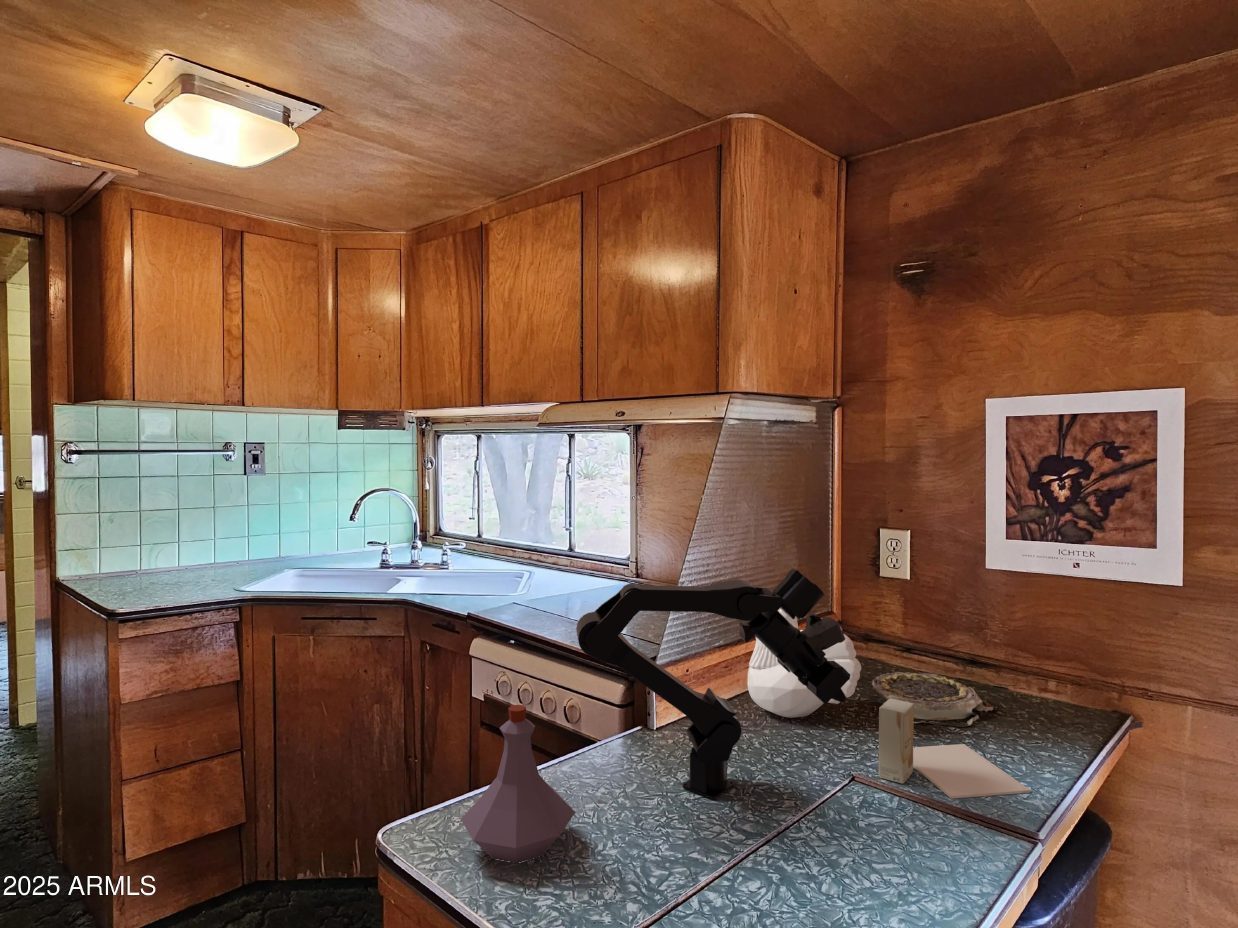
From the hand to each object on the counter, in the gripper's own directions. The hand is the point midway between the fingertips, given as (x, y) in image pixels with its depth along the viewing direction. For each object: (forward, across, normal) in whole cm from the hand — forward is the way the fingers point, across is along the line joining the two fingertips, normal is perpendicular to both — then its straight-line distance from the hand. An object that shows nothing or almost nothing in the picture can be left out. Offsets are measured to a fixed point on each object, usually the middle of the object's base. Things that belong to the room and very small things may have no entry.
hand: (844, 699), depth 123 cm
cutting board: (+24, 0, -5) cm, 25 cm away
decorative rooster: (+12, +27, +8) cm, 31 cm away
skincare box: (+16, 0, +3) cm, 17 cm away
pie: (+33, +31, -13) cm, 47 cm away
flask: (-29, -12, +49) cm, 58 cm away
